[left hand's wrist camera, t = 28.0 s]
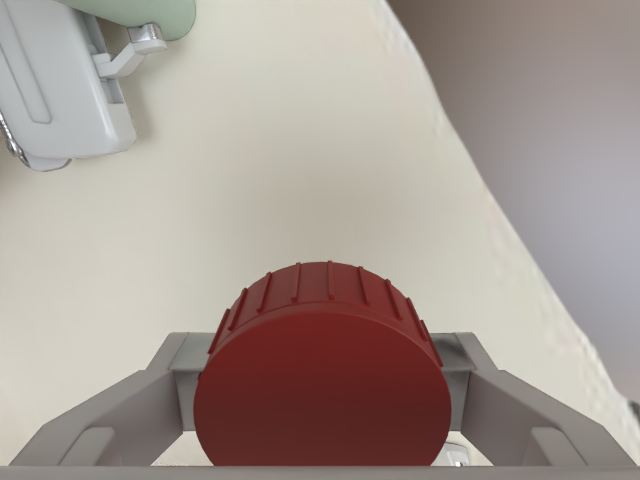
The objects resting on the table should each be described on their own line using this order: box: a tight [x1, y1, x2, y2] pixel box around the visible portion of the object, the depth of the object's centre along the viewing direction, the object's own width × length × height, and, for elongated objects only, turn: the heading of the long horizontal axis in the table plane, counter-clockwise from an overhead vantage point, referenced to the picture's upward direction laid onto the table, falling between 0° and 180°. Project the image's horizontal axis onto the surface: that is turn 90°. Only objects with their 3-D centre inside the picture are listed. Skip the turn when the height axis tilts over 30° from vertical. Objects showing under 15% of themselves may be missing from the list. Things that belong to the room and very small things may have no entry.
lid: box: [193, 261, 452, 466], centre depth 9 cm, size 6×6×2 cm
